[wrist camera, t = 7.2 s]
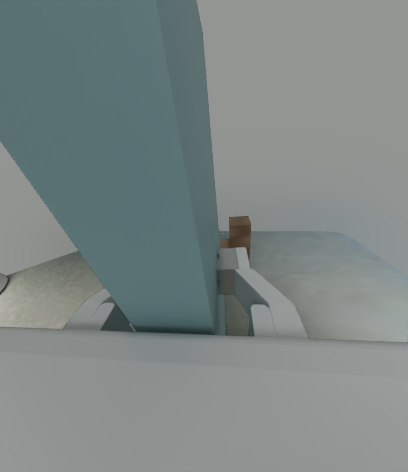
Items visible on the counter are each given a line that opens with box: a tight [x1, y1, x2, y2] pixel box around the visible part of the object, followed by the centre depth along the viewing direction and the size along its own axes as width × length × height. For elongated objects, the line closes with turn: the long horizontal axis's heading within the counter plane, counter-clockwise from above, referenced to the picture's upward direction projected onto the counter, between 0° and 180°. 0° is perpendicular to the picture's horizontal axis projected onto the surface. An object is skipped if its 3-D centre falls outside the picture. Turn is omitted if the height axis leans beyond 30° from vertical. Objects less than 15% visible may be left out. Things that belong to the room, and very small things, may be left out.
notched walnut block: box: [219, 216, 251, 260], centre depth 25 cm, size 16×2×8 cm, turn 85°
